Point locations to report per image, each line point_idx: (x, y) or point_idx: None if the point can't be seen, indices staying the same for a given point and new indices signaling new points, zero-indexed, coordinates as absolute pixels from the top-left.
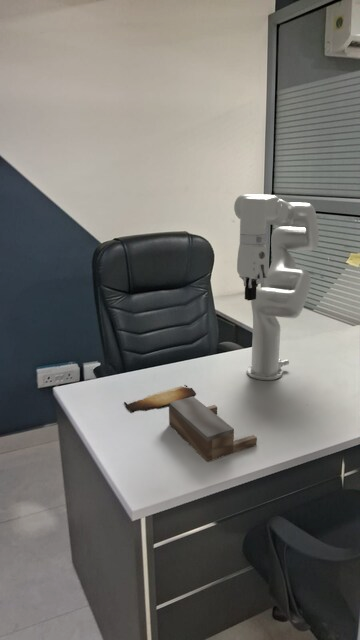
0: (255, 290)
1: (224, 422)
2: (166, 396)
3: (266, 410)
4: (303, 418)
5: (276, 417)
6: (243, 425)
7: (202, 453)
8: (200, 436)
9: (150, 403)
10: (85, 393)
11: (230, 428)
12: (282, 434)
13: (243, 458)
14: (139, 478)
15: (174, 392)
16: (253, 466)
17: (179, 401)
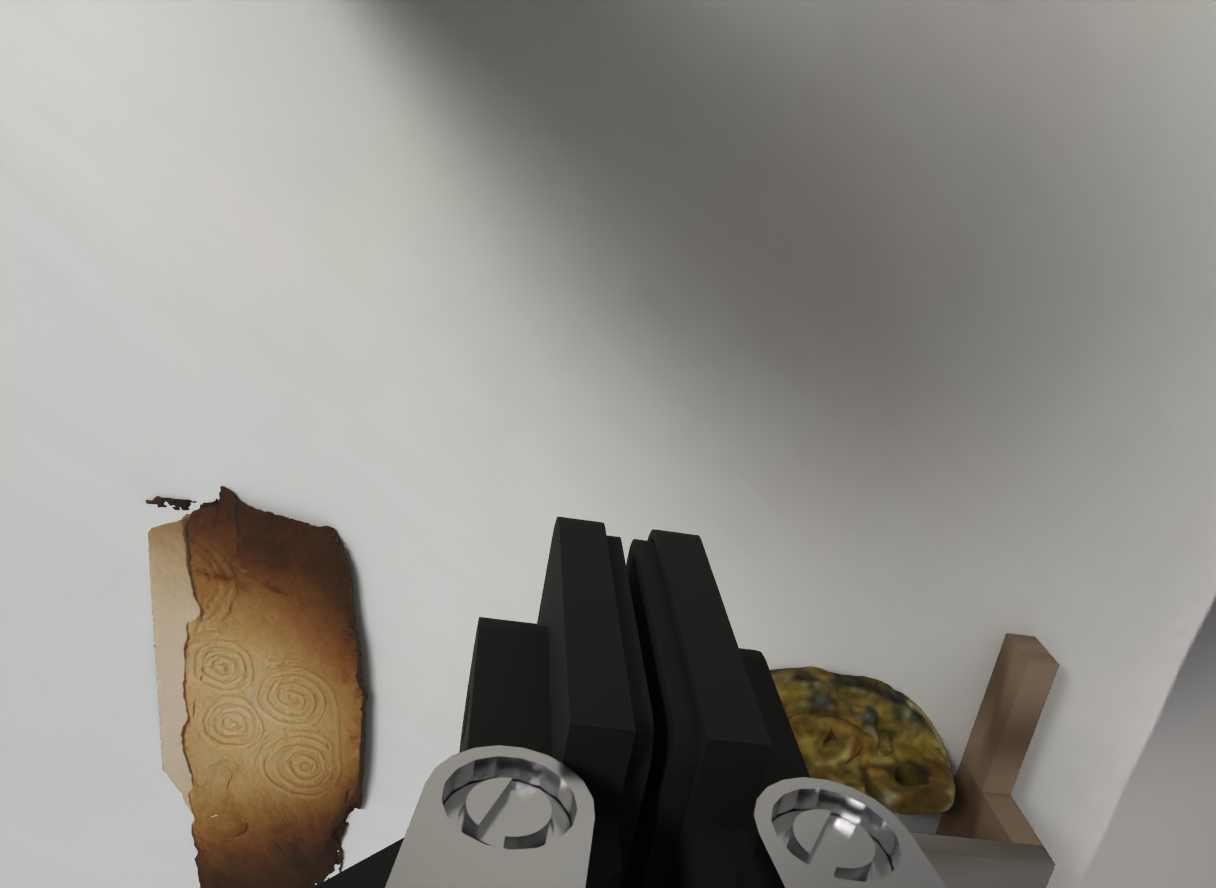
0: (804, 770)
1: (972, 863)
2: (252, 700)
3: (832, 306)
4: (1082, 190)
5: (938, 326)
6: (851, 553)
7: None
8: None
9: (284, 817)
10: None
11: (1038, 875)
12: (1080, 451)
13: (1052, 752)
14: None
15: (228, 631)
16: (1124, 757)
17: None
